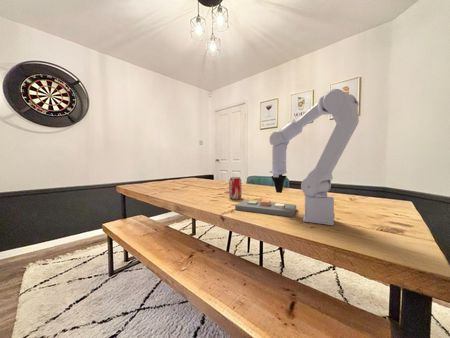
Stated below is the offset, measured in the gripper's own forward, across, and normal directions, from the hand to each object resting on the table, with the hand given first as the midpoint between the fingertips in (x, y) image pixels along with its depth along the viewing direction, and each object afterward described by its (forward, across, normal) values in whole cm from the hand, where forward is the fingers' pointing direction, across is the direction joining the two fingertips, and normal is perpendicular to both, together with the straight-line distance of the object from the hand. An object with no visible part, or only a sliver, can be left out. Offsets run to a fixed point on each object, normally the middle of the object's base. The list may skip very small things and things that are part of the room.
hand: (279, 192), depth 79 cm
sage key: (+7, +1, -12) cm, 14 cm away
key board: (+8, +1, -6) cm, 10 cm away
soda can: (+8, -15, -27) cm, 32 cm away
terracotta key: (+6, +1, -6) cm, 8 cm away
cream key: (+7, +1, 0) cm, 7 cm away
